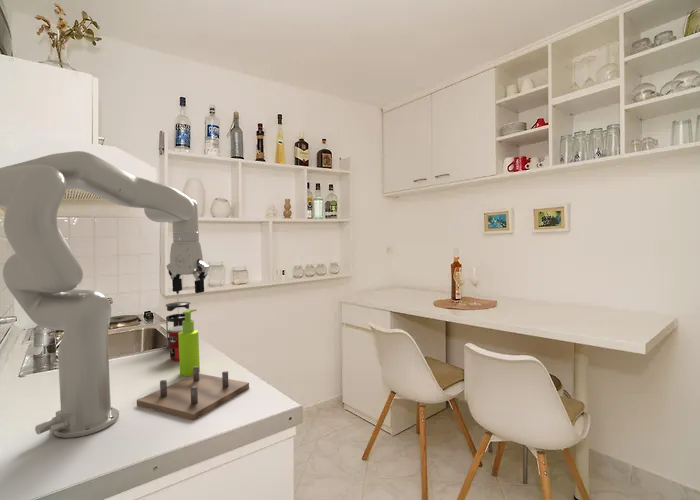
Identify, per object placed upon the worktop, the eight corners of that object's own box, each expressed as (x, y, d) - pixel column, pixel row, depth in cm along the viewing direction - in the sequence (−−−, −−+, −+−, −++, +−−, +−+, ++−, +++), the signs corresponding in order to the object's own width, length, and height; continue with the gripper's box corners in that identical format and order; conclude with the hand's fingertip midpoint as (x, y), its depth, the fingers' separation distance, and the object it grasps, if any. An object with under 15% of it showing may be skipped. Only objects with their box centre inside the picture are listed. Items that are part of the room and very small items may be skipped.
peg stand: (193, 420, 89) (192, 397, 88) (136, 405, 97) (135, 384, 97) (249, 387, 107) (248, 369, 106) (197, 377, 115) (196, 360, 115)
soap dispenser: (204, 368, 123) (202, 308, 122) (193, 376, 116) (191, 312, 116) (187, 367, 124) (185, 308, 123) (176, 375, 117) (173, 312, 116)
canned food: (171, 356, 137) (170, 326, 136) (195, 353, 139) (194, 324, 138) (168, 362, 129) (166, 331, 129) (193, 360, 132) (191, 329, 131)
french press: (195, 346, 148) (193, 288, 147) (169, 351, 142) (166, 291, 141) (188, 339, 157) (186, 285, 156) (163, 344, 152) (161, 288, 151)
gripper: (156, 239, 119) (159, 292, 119) (197, 238, 111) (199, 295, 112) (176, 238, 125) (178, 288, 126) (215, 237, 118) (217, 291, 119)
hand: (188, 291), depth 119 cm, fingers open, 9 cm apart
